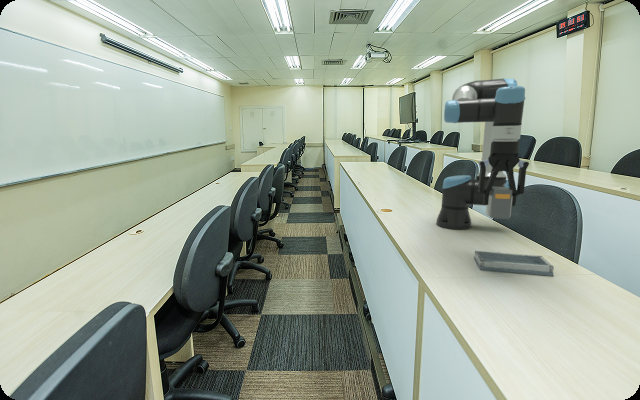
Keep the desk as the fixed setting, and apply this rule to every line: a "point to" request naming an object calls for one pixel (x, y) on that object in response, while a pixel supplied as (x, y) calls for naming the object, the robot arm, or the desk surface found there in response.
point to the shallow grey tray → (513, 263)
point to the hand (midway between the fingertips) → (497, 215)
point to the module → (500, 202)
